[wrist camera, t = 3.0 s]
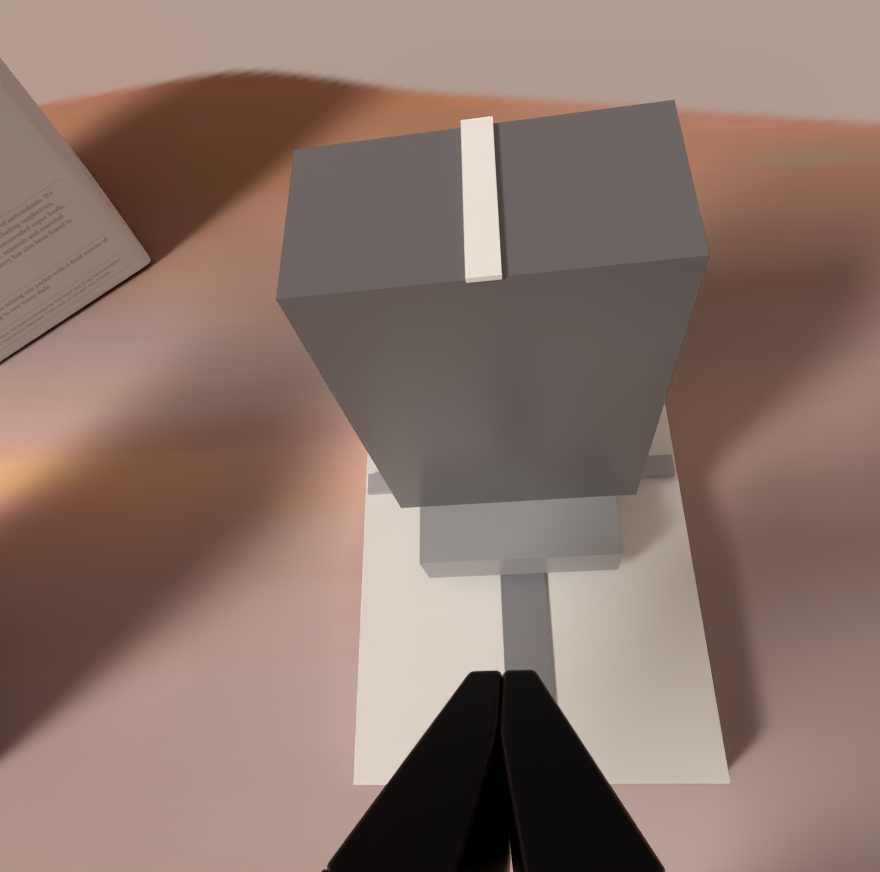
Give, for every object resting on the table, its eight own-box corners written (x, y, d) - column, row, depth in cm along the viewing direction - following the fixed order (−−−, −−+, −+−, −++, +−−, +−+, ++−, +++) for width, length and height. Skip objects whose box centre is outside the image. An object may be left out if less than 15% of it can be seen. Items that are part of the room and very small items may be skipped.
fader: (637, 568, 18) (733, 346, 8) (410, 578, 19) (262, 386, 9) (611, 370, 20) (660, 30, 11) (413, 387, 21) (299, 82, 12)
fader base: (716, 781, 17) (733, 783, 16) (367, 783, 18) (350, 785, 17) (619, 190, 26) (624, 152, 24) (387, 217, 27) (377, 183, 25)
